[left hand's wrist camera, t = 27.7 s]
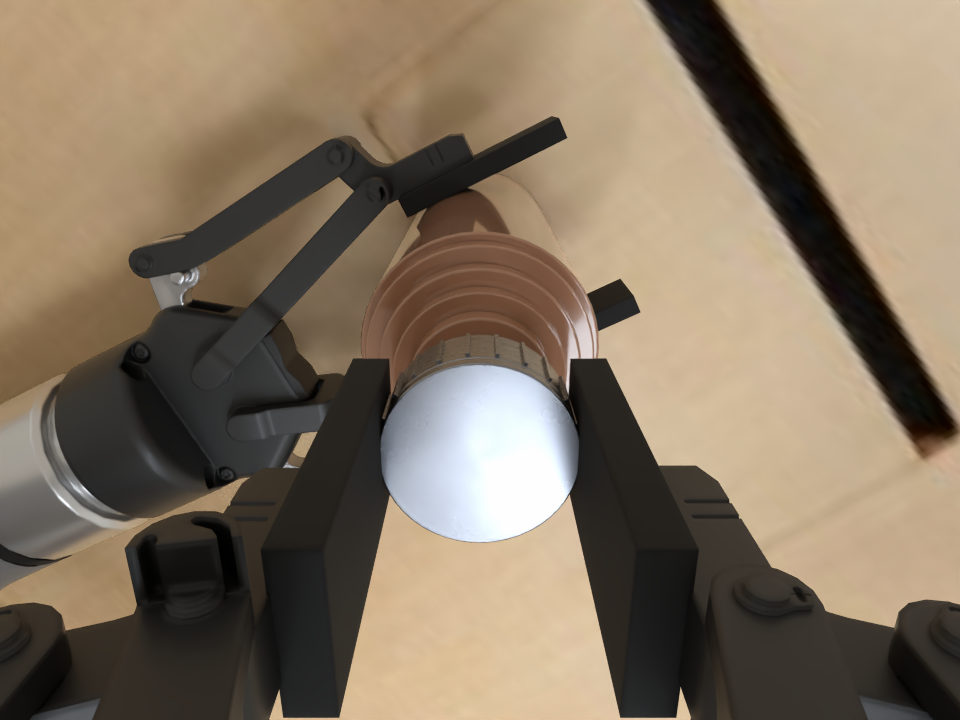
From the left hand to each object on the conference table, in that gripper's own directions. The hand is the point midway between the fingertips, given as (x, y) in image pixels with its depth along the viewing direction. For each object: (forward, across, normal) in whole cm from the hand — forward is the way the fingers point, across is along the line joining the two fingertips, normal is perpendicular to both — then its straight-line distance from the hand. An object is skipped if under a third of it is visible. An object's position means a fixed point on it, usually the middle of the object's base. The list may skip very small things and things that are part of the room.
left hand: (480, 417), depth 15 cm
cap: (-1, 0, 0) cm, 1 cm away
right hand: (+14, -4, -2) cm, 15 cm away
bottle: (+20, 0, 0) cm, 20 cm away
